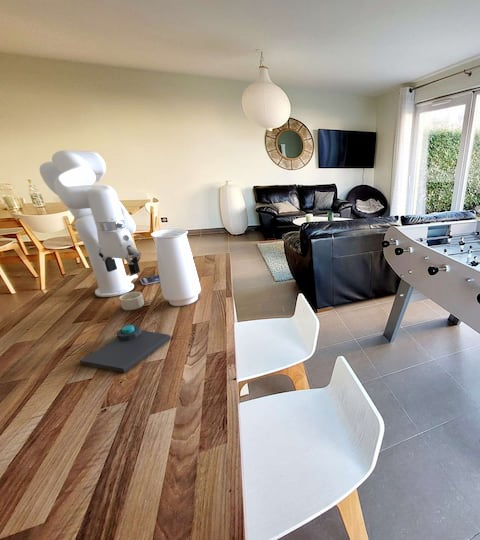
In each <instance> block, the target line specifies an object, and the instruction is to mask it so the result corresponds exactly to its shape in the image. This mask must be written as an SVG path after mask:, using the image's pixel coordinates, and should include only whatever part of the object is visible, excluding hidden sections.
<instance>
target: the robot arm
mask: <svg viewBox="0 0 480 540" xmlns="http://www.w3.org/2000/svg"><path fill="white" fill-rule="evenodd" d="M106 171H107V165H106V161H105V160H104V159H103V157H102V156H101V155H100V154H99V153H98V152H95V151H91V150H69V149H68V150H67V149H66V150H65V149H64V150H58V151H56V152H54V154H52V157H51V161H46V162H43V163H41V165H40V166H39V174H40V177H41V178H42V180H43V183H44V184H45V185H46V186H47V187H48V189H50V191H52V192H53V194H55V195H56V196H58V198H59V199H60V201H61V202H62V204H63V206H65V207H66V208H67V209H68V210H69V212H70V214H71V216H73V218H74V219H76V220H75V221H74V227H75V230H76V232H77V234H78V236H79V237H80V240H81V242H82V243H83V245H84V248H85V250H86V254H87V256H88V259H89V263H90V265H91V269H92V273H93V275H94V278H95V281H96V284H97V288H96V289H95V290H94V294H95V296H96V297H100V298H111V297H116V296H122V295H124V294H126V293H130V292H132V291H133V289H134V288H135V284H134V283H133V282H132V281H134V280H137V279H138V278H139V275H137V274H139V273H141V270H140V266H139V262H140V260H141V256H142V252H141V251H139V250H137V248H136V245H135V242H134V239H133V237H132V235H133V234H135V233H136V230H137V227H136V223H135V220H134V219H133V217H132V216H131V214H130V213H129V211H127V209H126V208H125V206H124V204H123V203H122V202H121V201H120V200H119V197H118V194H117V190H115V189H114V188H113V187H112V186H110V185H109V184H108V185H107V184H95V183H98V182H100V181H101V180H102V178H103V177H104V176H105V174H106ZM123 260H125V261H126V262H127V263H128V265H127V267H128V269H129V274H130V275H129V274H127V273H126V270H125V265H124V263H123Z"/></svg>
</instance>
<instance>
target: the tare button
mask: <svg viewBox="0 0 480 540" xmlns="http://www.w3.org/2000/svg"><path fill="white" fill-rule="evenodd" d="M121 329H122V332H123V334H129V333H132V332H134V331H135V329H134V324H127V325H124V326H123V327H122V328H121Z"/></svg>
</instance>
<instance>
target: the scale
mask: <svg viewBox="0 0 480 540" xmlns="http://www.w3.org/2000/svg"><path fill="white" fill-rule="evenodd" d="M133 326H134V329H135V331H134V332H132V333H129V334H123V332H122V328H121V329H119V330H117V331H116V333H115V334H116V337H115V338H114V339H112V340H111V341H109V342H107V343H106V344H104V345H103V346H101V347H100V348H98V349H96V350H94V351H93V352H90V353H89V354H88V355H86V356H85V357H83V358H81V359H79V362H80V365H82V366H87V367H92V368H98V369H103V370H108V371H115V372H119V373H126V372H128V371H129V370H130V369H132V368H133V367H134V366H136V365H137V364H138V363H140V362H141V361H142V360H143V359H145V358H146V357H148V356H149V355H150V354H151V353H153V352H154V351H156V350H157V349H159V347H161V346H162V345H164V344H165V343H166V342H167V341H169V340H170V339H171V335H170V334H167V333H160V332H154V331H148V330H142V328H141V327H140V326H139V325H136V324H135V325H134V324H133Z"/></svg>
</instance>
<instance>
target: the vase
mask: <svg viewBox="0 0 480 540" xmlns="http://www.w3.org/2000/svg"><path fill="white" fill-rule="evenodd" d="M188 233H189V231H188V230H187V229H185V228H166V229H160V230H156V231H153V232H152V233H150V236H151V237H153V238H154V246H155V253H156V261H157V269H158V275H159V277H160V282H159V283H160V289H161V294H162V297H163V299H165V300H166V301H168V303H169V305H171V306H174V307H182V306H187V305H191V304H193V303H195V302H196V301H197V300H198V299H199V294H200V293H201V284H200V279H199V276H198V272H197V268H196V264H195V261H194V257H193V254H192V250H191V247H190V244H189V239H188V236H187V234H188Z"/></svg>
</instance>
